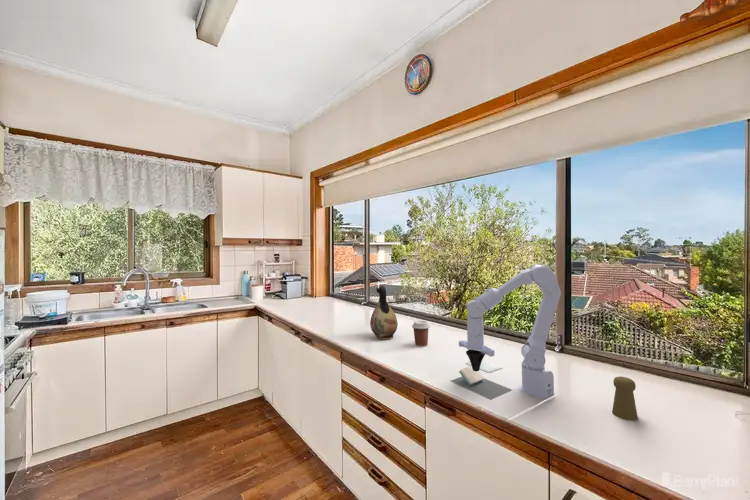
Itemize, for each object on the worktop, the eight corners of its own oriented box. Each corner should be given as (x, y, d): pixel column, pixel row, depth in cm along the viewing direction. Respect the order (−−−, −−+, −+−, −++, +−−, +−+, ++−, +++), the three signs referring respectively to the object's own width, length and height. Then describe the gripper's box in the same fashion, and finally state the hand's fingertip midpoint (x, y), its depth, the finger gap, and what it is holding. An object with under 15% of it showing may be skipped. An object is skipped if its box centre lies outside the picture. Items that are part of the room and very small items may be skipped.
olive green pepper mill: (610, 415, 94) (609, 378, 94) (614, 407, 98) (613, 372, 98) (636, 423, 90) (636, 384, 90) (639, 414, 94) (638, 377, 94)
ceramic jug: (368, 335, 185) (367, 283, 185) (394, 333, 188) (393, 282, 187) (373, 343, 168) (372, 287, 168) (401, 341, 171) (400, 286, 171)
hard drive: (465, 362, 136) (489, 371, 125) (478, 358, 140) (502, 367, 130) (465, 366, 136) (489, 376, 125) (478, 362, 140) (502, 371, 130)
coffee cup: (408, 345, 164) (408, 322, 164) (420, 341, 170) (419, 319, 170) (422, 349, 158) (422, 325, 157) (433, 345, 164) (433, 322, 164)
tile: (484, 378, 117) (473, 365, 121) (471, 383, 114) (460, 369, 118) (482, 381, 118) (471, 367, 122) (469, 385, 114) (459, 372, 118)
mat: (512, 391, 110) (512, 389, 110) (490, 401, 104) (490, 399, 104) (471, 374, 126) (471, 373, 126) (449, 382, 119) (449, 380, 119)
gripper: (452, 331, 120) (453, 366, 120) (484, 340, 108) (485, 379, 108) (465, 328, 124) (466, 362, 124) (497, 336, 111) (498, 374, 112)
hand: (476, 370), depth 116 cm, fingers closed
